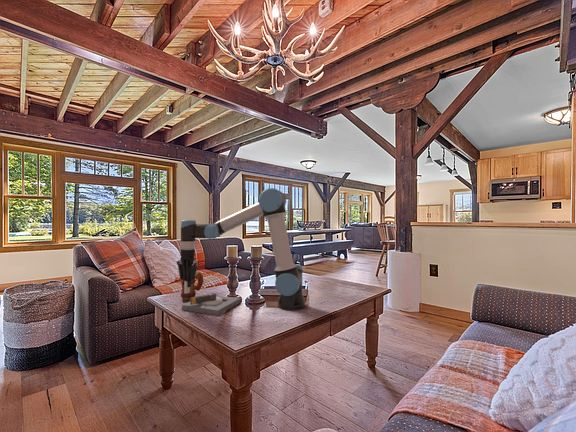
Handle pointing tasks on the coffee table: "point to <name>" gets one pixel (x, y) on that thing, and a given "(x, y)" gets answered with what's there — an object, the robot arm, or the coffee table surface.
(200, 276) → the mug
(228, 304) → the dial plate
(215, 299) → the dial
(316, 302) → the coffee table surface
